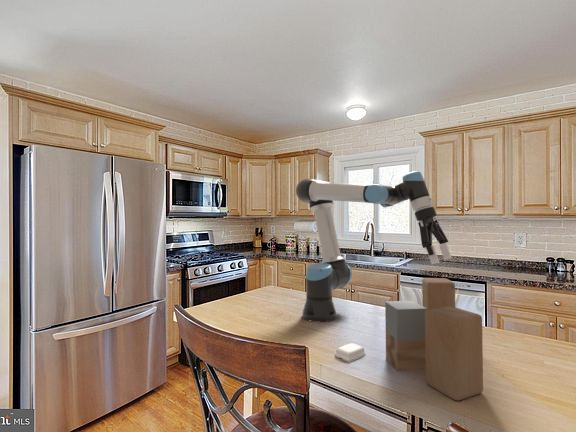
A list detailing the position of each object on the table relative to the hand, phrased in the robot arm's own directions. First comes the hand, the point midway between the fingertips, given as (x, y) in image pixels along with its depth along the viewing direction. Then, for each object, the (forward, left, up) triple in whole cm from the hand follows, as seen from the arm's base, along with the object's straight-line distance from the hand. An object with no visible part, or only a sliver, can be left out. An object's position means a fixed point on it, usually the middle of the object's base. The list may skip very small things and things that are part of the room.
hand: (442, 261), depth 124 cm
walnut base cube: (+24, -25, -28) cm, 44 cm away
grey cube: (+24, -25, -19) cm, 39 cm away
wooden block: (-2, 0, -28) cm, 28 cm away
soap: (+15, -40, -28) cm, 52 cm away
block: (+39, -19, -28) cm, 51 cm away
